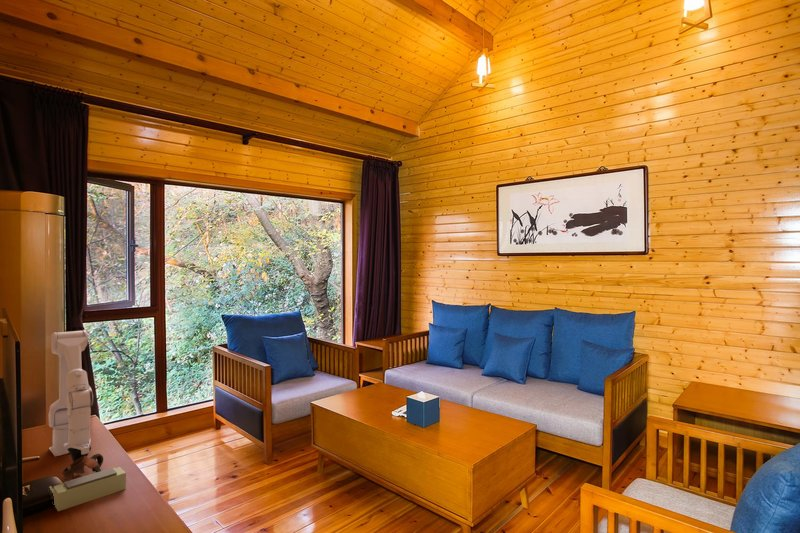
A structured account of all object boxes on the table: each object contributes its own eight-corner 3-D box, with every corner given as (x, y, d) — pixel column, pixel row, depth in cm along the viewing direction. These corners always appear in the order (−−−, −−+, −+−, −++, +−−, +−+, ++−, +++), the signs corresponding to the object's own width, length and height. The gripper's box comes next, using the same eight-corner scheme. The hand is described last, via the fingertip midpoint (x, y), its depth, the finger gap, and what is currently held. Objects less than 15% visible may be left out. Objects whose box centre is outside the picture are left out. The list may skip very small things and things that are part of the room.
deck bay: (48, 496, 130) (49, 477, 130) (114, 476, 143) (114, 459, 142) (58, 511, 123) (58, 491, 123) (125, 489, 135) (125, 470, 135)
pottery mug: (91, 489, 135) (75, 468, 133) (67, 500, 137) (50, 479, 135) (117, 462, 147) (102, 442, 145) (95, 472, 148) (80, 453, 147)
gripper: (58, 424, 146) (58, 466, 146) (70, 437, 136) (69, 481, 136) (84, 419, 151) (84, 459, 151) (97, 431, 141) (96, 473, 141)
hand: (79, 469), depth 144 cm, fingers closed
